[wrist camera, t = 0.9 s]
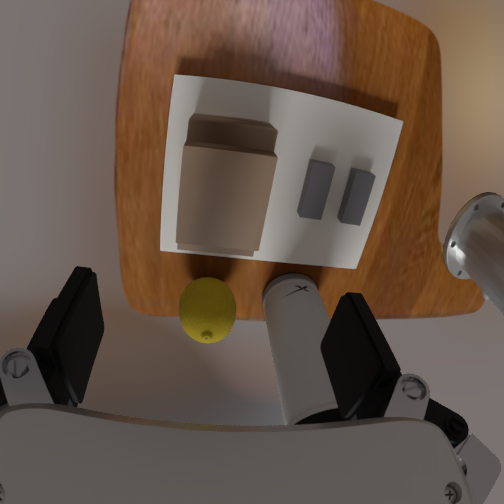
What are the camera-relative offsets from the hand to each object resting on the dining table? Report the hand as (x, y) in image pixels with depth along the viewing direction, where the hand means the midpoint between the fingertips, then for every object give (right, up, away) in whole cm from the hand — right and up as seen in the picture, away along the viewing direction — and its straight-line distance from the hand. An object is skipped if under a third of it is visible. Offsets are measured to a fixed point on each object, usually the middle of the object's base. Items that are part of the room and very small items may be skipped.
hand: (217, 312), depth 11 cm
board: (+4, +9, +17) cm, 19 cm away
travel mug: (+5, -2, +24) cm, 25 cm away
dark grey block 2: (+11, +8, +16) cm, 21 cm away
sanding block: (-1, +9, +14) cm, 17 cm away
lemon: (-3, -1, +22) cm, 22 cm away
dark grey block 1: (+7, +8, +16) cm, 19 cm away
